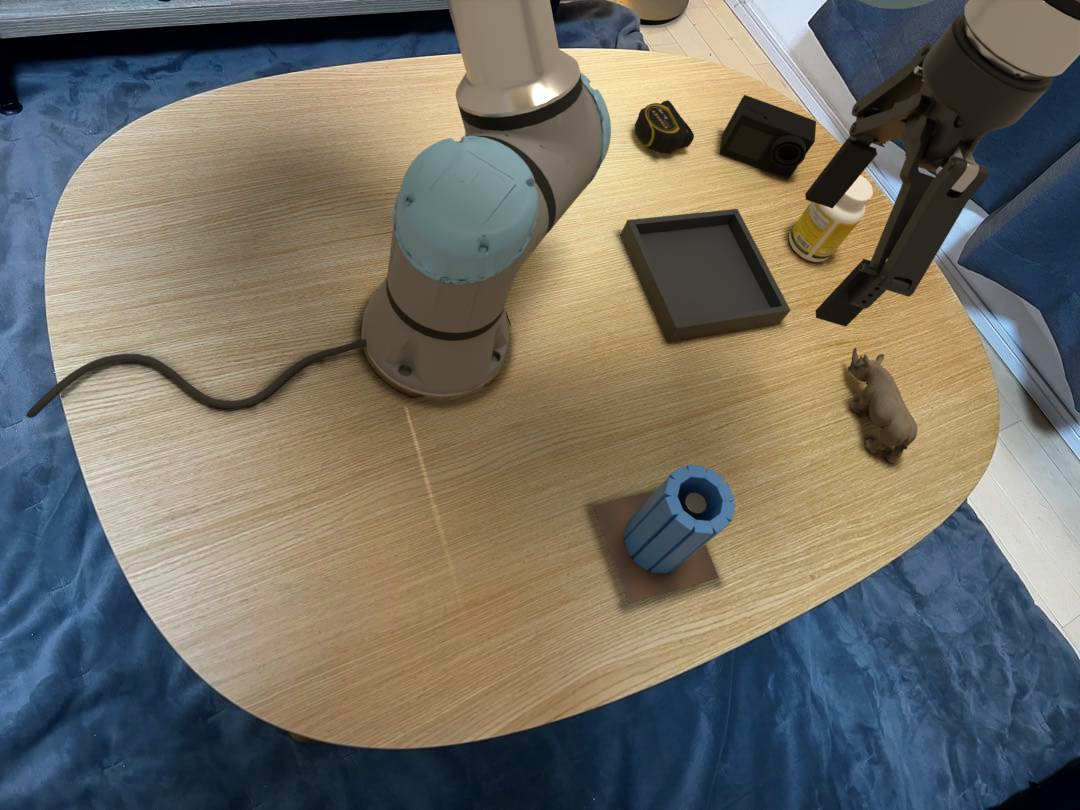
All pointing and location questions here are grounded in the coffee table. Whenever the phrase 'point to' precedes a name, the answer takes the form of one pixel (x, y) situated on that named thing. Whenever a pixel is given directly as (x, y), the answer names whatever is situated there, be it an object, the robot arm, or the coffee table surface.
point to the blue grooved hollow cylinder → (678, 519)
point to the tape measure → (662, 128)
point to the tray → (703, 273)
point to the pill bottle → (829, 223)
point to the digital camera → (767, 136)
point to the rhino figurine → (883, 406)
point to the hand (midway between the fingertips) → (824, 257)
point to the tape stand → (630, 573)
